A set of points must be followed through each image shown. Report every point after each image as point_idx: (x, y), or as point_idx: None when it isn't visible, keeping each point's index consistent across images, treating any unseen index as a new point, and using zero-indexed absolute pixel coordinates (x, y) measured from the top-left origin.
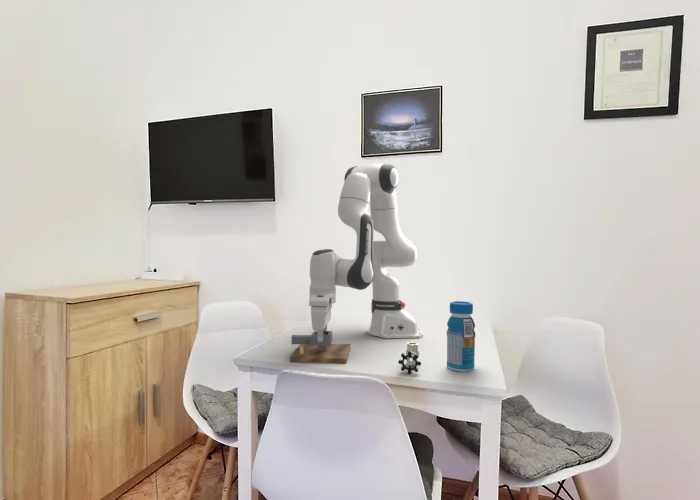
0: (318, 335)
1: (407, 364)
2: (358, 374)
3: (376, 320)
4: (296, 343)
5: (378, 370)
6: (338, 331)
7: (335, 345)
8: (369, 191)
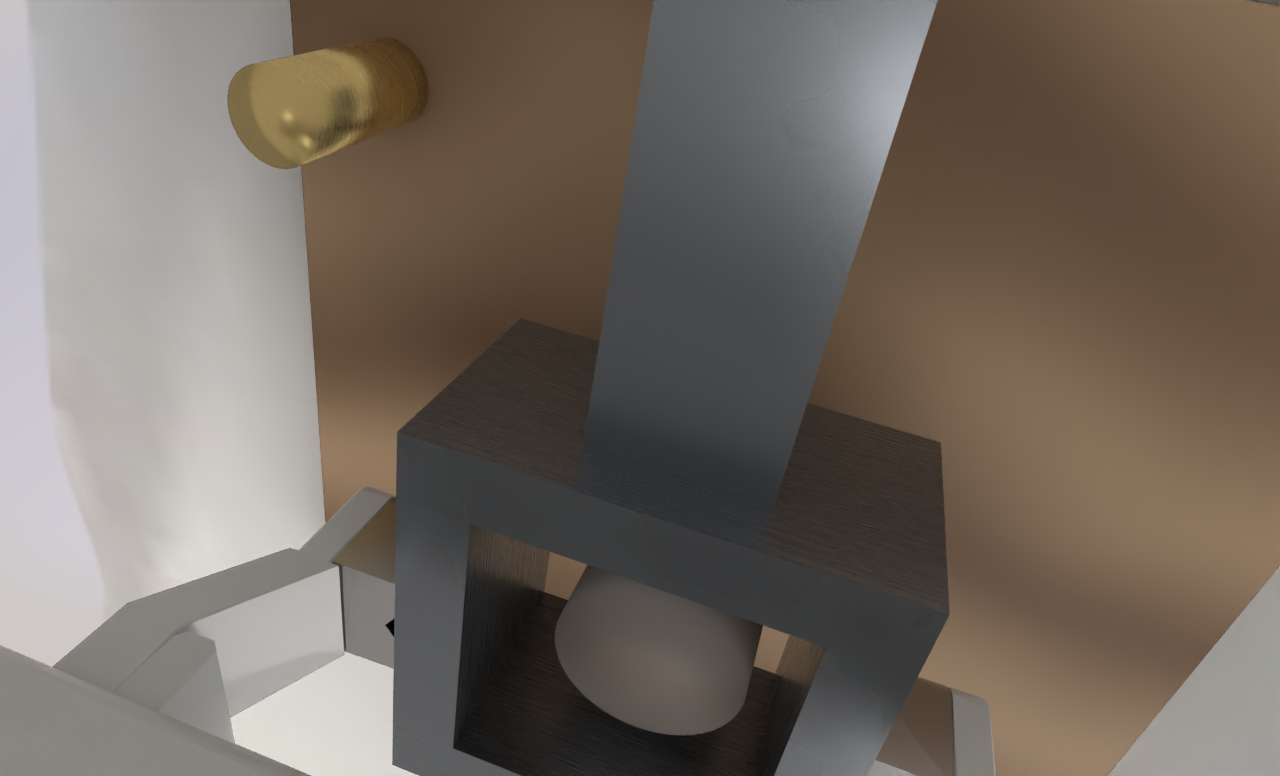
0: (267, 574)
1: None
2: (108, 574)
3: None
4: None
5: (234, 724)
6: None
7: (996, 714)
8: None
